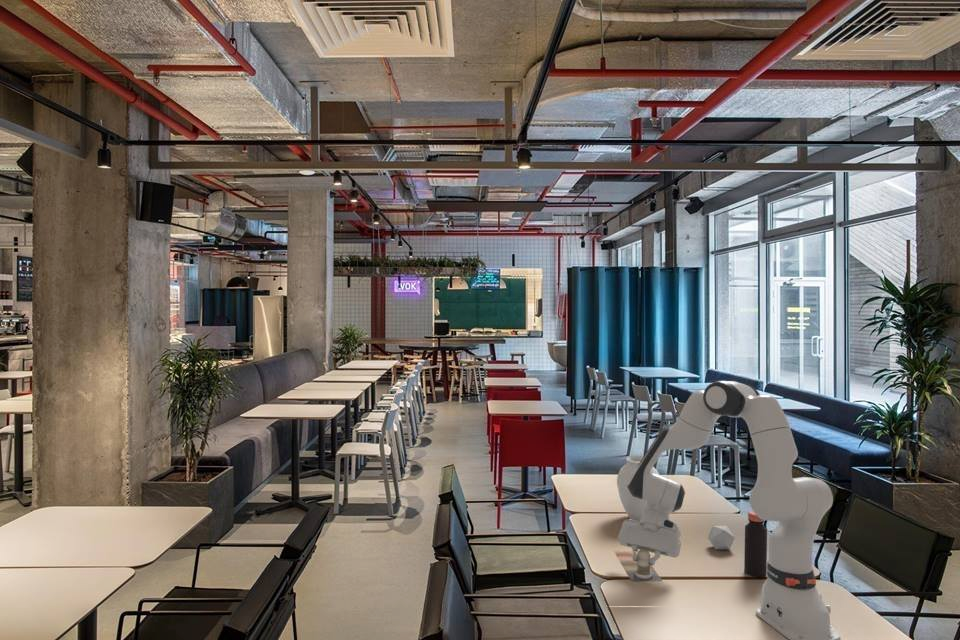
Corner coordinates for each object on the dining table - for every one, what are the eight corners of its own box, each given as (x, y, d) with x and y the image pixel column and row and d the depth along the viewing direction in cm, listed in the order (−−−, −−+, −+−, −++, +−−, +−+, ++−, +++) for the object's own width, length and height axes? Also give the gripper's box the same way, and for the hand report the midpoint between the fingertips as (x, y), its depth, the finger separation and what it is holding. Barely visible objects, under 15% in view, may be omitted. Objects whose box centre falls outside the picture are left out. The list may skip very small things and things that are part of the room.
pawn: (654, 579, 199) (654, 552, 199) (637, 579, 199) (637, 552, 199) (649, 572, 204) (649, 546, 204) (632, 572, 204) (633, 545, 204)
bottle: (739, 570, 207) (740, 510, 206) (755, 567, 209) (756, 508, 209) (755, 578, 201) (756, 517, 200) (771, 575, 203) (772, 515, 203)
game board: (662, 582, 198) (662, 581, 198) (631, 582, 198) (631, 581, 198) (642, 552, 222) (642, 551, 222) (614, 552, 222) (614, 551, 222)
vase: (643, 509, 268) (644, 452, 268) (669, 523, 252) (670, 462, 251) (608, 514, 262) (608, 455, 261) (633, 528, 245) (633, 465, 245)
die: (731, 556, 220) (741, 532, 223) (709, 543, 221) (720, 519, 224) (722, 555, 228) (732, 532, 230) (700, 542, 229) (711, 519, 232)
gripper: (621, 513, 213) (610, 550, 205) (681, 525, 201) (671, 565, 193) (626, 522, 217) (615, 559, 209) (685, 535, 205) (676, 574, 197)
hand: (643, 562), depth 201 cm, fingers closed on pawn, 4 cm apart
